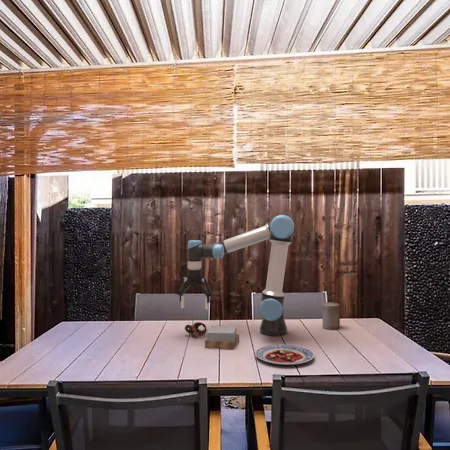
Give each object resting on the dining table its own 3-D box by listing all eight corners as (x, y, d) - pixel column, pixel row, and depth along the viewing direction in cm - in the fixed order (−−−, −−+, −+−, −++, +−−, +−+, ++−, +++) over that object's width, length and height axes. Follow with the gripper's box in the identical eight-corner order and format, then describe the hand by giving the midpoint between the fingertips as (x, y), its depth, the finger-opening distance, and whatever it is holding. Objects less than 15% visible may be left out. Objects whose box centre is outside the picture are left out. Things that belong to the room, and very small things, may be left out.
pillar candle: (342, 327, 223) (341, 301, 223) (337, 331, 214) (336, 304, 215) (325, 324, 228) (325, 299, 228) (320, 328, 220) (319, 302, 220)
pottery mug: (205, 333, 214) (208, 322, 210) (203, 346, 206) (206, 334, 202) (184, 328, 214) (187, 317, 210) (181, 340, 205) (184, 329, 202)
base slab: (239, 342, 198) (239, 334, 198) (233, 350, 184) (232, 342, 184) (213, 340, 201) (212, 332, 201) (205, 348, 188) (204, 340, 188)
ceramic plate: (301, 373, 154) (301, 365, 154) (245, 362, 168) (245, 355, 168) (321, 354, 176) (321, 348, 176) (270, 346, 190) (270, 340, 190)
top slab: (236, 333, 199) (236, 326, 199) (234, 341, 186) (233, 333, 186) (211, 333, 200) (211, 325, 200) (207, 340, 187) (207, 332, 187)
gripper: (218, 268, 209) (218, 308, 209) (175, 267, 215) (175, 305, 215) (214, 270, 201) (215, 311, 201) (170, 269, 208) (170, 308, 208)
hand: (194, 308), depth 208 cm, fingers open, 13 cm apart
